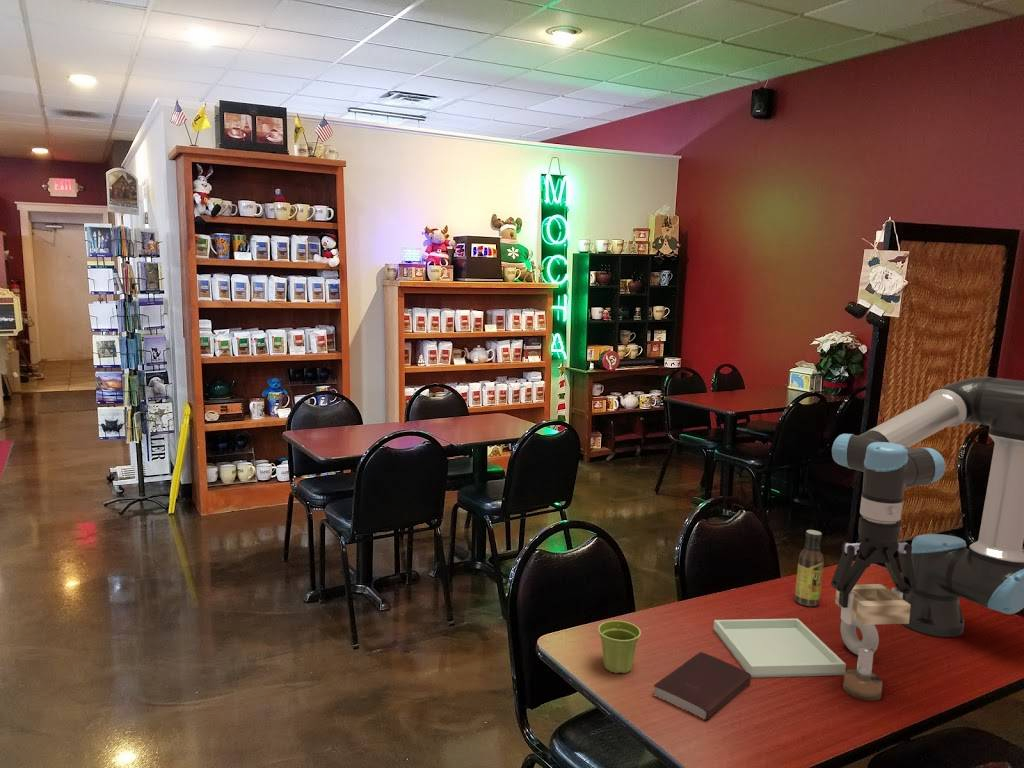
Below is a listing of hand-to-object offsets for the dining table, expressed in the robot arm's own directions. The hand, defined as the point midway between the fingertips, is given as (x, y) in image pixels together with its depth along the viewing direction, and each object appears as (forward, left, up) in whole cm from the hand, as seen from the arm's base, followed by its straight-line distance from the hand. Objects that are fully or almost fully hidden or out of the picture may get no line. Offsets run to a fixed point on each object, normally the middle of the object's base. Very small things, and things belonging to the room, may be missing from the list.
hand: (870, 620), depth 149 cm
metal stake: (0, 0, -16) cm, 16 cm away
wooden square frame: (0, 0, +2) cm, 2 cm away
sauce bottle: (-10, -42, -16) cm, 46 cm away
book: (+34, -2, -17) cm, 38 cm away
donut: (-8, -15, -16) cm, 23 cm away
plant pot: (+50, -12, -16) cm, 54 cm away
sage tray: (+11, -17, -16) cm, 26 cm away
